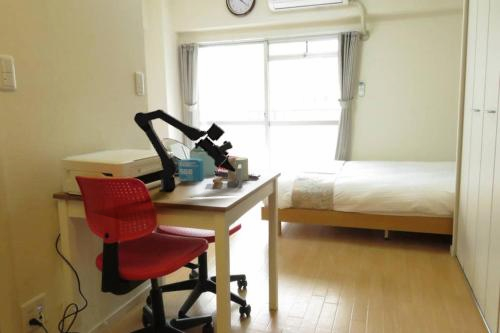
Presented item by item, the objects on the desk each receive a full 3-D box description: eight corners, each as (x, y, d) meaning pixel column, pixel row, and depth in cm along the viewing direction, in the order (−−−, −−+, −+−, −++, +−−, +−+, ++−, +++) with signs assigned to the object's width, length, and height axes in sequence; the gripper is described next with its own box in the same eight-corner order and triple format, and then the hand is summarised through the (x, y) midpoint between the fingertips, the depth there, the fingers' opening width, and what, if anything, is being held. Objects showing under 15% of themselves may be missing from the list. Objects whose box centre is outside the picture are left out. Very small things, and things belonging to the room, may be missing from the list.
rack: (204, 191, 177) (203, 169, 176) (207, 185, 189) (206, 165, 188) (242, 189, 177) (241, 168, 176) (242, 184, 189) (242, 164, 188)
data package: (179, 182, 200) (177, 160, 198) (183, 181, 204) (181, 158, 202) (201, 183, 197) (199, 160, 195) (204, 181, 201) (202, 158, 199)
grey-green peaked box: (186, 177, 215) (184, 142, 212) (191, 174, 223) (188, 140, 220) (214, 177, 212) (212, 141, 209) (218, 174, 220) (216, 140, 217)
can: (235, 178, 204) (233, 156, 202) (251, 179, 201) (250, 156, 199) (228, 182, 196) (227, 159, 194) (245, 182, 193) (244, 159, 191)
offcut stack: (212, 188, 178) (212, 180, 178) (214, 183, 188) (214, 176, 187) (221, 187, 178) (221, 180, 178) (223, 183, 188) (222, 176, 187)
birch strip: (228, 183, 182) (227, 158, 180) (228, 182, 184) (227, 157, 182) (236, 183, 182) (235, 157, 180) (236, 182, 184) (235, 157, 182)
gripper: (220, 137, 170) (246, 161, 172) (223, 134, 189) (246, 155, 190) (203, 155, 171) (229, 179, 173) (208, 150, 190) (231, 172, 191)
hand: (234, 170), depth 182 cm, fingers closed on birch strip, 2 cm apart
